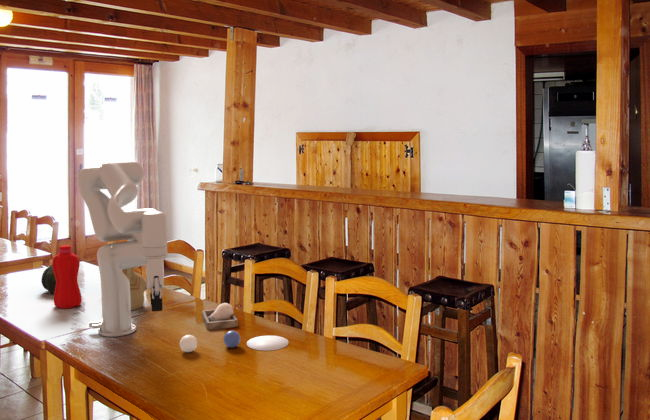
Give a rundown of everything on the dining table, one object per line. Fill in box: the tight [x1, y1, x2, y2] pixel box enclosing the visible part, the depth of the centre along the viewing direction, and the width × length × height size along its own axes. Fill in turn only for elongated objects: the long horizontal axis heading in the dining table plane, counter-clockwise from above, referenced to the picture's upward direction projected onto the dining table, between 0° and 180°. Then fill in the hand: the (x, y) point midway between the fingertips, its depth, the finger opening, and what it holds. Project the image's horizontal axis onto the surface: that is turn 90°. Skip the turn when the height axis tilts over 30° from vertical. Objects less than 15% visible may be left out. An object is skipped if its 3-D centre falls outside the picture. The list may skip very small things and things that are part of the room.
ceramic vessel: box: [122, 268, 148, 311], centre depth 237 cm, size 17×20×25 cm
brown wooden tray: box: [201, 308, 239, 331], centre depth 220 cm, size 11×16×2 cm
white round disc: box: [246, 335, 290, 352], centre depth 198 cm, size 14×14×1 cm
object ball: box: [223, 330, 241, 348], centre depth 194 cm, size 6×6×6 cm
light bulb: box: [207, 302, 234, 322], centre depth 220 cm, size 7×7×11 cm
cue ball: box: [179, 334, 198, 353], centre depth 189 cm, size 6×6×6 cm
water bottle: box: [51, 244, 82, 310], centre depth 239 cm, size 9×11×25 cm
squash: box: [41, 264, 56, 295], centre depth 262 cm, size 14×15×15 cm
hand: (156, 307), depth 185 cm, fingers open, 5 cm apart
